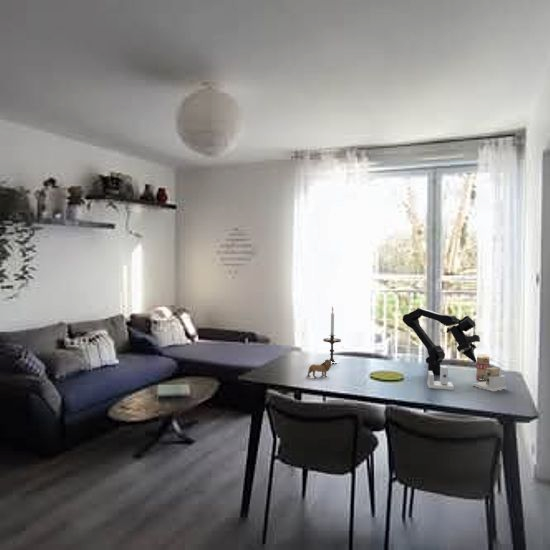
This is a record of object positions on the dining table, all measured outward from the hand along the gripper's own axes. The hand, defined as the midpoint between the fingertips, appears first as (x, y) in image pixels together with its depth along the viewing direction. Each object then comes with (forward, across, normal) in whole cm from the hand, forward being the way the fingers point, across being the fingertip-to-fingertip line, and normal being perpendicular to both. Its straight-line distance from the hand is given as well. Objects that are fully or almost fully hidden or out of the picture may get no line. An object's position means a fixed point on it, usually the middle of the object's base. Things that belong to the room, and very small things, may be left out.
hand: (475, 362), depth 252 cm
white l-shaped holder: (+15, -7, 0) cm, 16 cm away
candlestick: (-39, 0, +75) cm, 84 cm away
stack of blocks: (+7, +18, +4) cm, 20 cm away
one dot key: (+4, -20, +15) cm, 25 cm away
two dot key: (+14, -9, -3) cm, 17 cm away
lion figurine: (-26, -39, +68) cm, 82 cm away
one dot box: (+5, -20, +18) cm, 27 cm away
